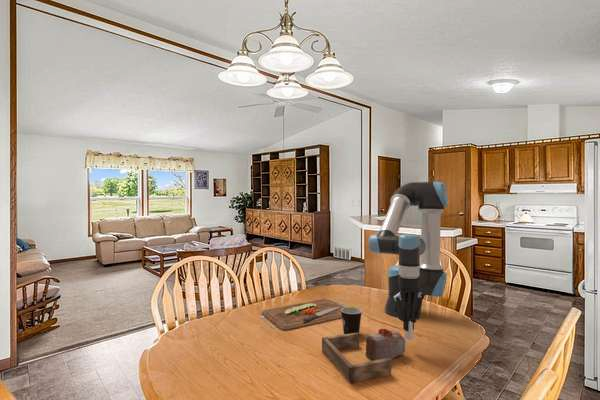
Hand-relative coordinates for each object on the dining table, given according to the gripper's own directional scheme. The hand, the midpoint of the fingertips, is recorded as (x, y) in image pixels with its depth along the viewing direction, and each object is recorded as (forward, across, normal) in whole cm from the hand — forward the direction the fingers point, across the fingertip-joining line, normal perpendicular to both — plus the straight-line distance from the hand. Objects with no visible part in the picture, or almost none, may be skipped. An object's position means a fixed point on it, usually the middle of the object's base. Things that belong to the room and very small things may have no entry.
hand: (408, 338), depth 127 cm
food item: (+5, +10, 0) cm, 11 cm away
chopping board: (+6, +22, -50) cm, 55 cm away
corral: (+5, +23, 0) cm, 23 cm away
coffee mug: (+5, +12, -23) cm, 27 cm away
